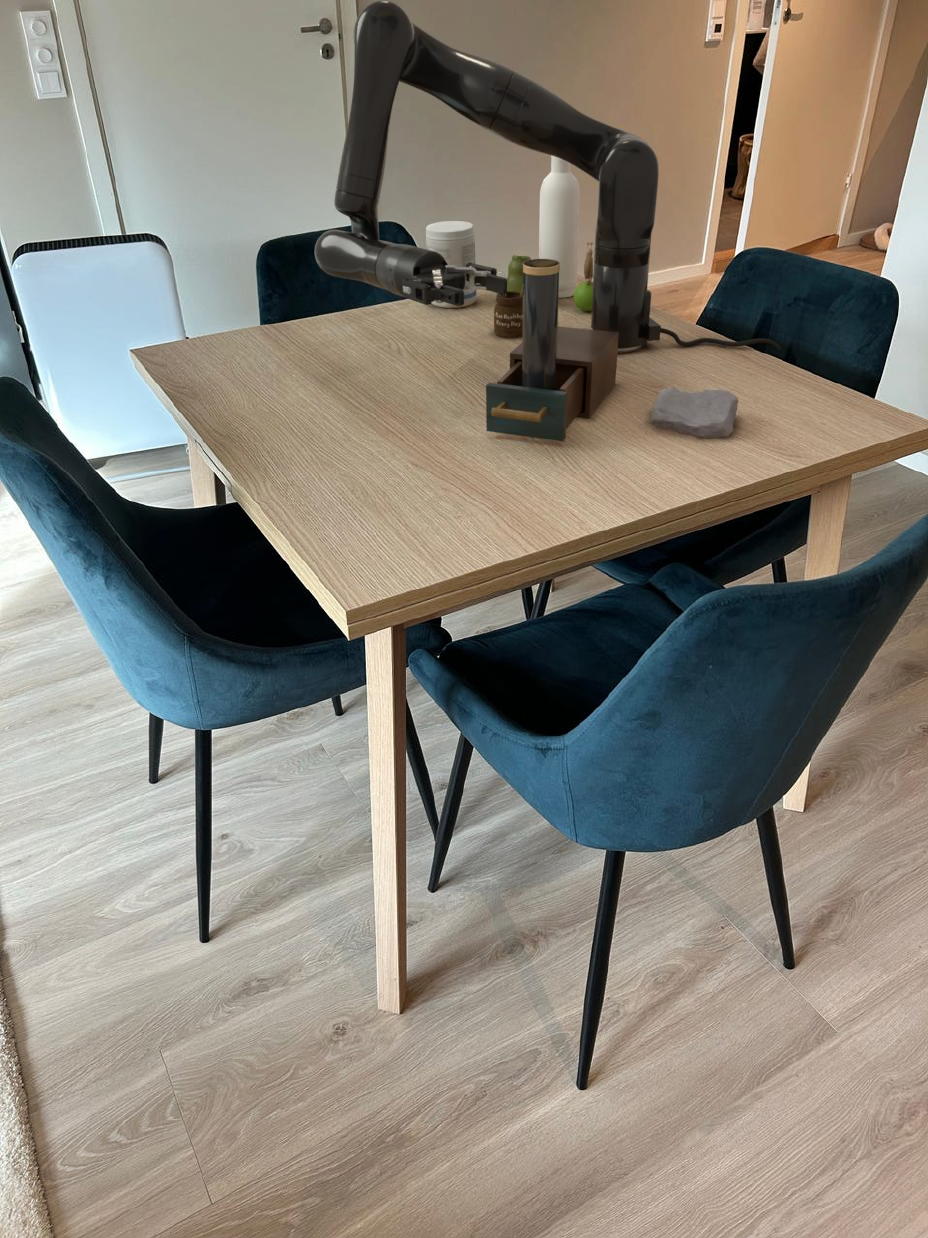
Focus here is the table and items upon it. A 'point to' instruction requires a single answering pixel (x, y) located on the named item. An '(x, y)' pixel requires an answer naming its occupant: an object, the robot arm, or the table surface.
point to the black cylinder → (540, 323)
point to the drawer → (535, 404)
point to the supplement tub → (453, 249)
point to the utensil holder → (509, 314)
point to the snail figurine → (585, 284)
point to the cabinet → (586, 361)
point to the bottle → (560, 223)
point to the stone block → (695, 412)
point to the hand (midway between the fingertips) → (484, 292)
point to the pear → (516, 273)
